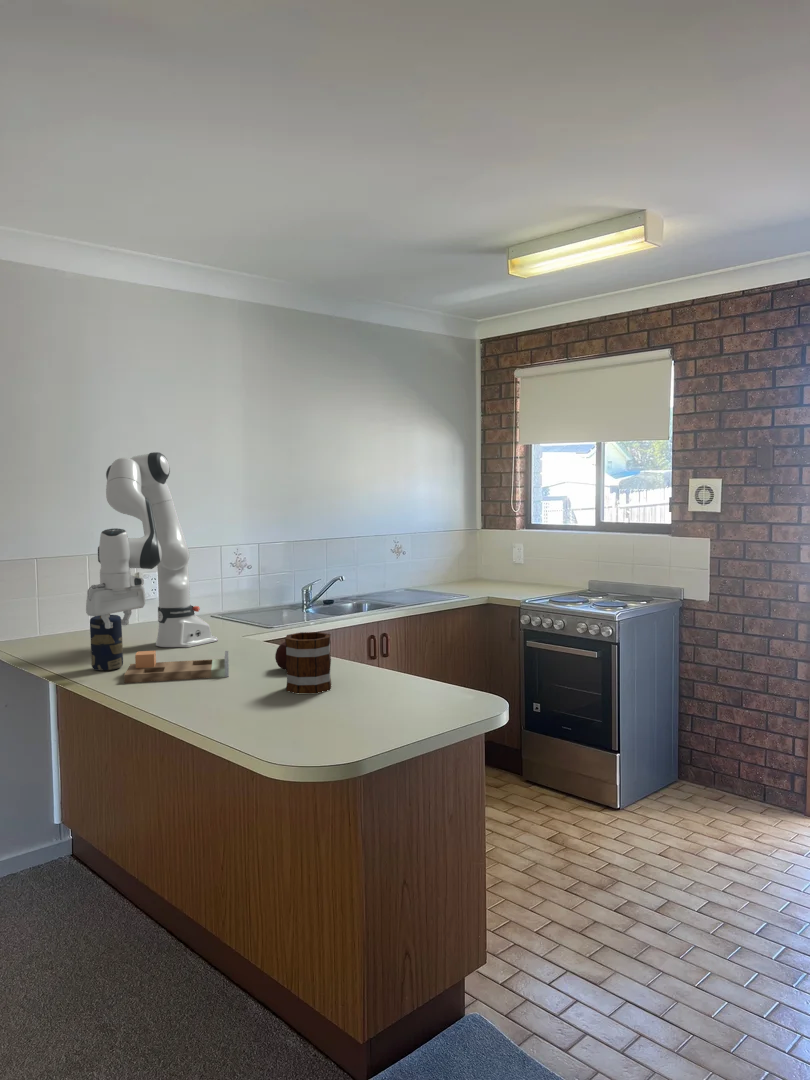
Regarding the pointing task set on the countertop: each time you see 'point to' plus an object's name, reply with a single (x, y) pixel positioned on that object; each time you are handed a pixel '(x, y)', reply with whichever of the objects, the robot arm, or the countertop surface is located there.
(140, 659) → the block
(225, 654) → the end stop
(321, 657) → the mug
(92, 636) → the canister
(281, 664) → the potato
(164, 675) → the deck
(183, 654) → the countertop surface
